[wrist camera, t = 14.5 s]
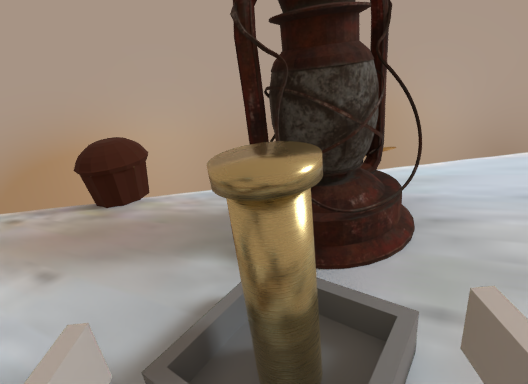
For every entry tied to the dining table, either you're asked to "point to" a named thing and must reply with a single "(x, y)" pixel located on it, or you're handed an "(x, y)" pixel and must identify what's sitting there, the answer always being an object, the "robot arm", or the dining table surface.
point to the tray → (331, 335)
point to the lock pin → (275, 252)
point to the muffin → (114, 171)
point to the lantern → (331, 120)
